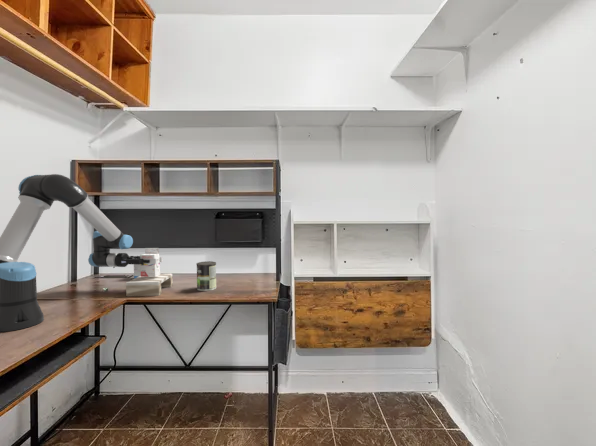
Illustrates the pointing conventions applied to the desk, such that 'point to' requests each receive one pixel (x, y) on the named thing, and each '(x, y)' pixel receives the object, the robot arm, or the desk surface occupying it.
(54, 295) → the desk surface
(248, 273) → the desk surface
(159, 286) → the shelf bridge
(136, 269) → the ink box
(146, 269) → the ink cartridge box
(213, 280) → the coffee can
